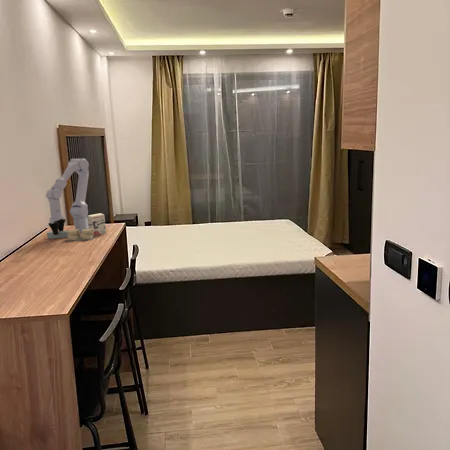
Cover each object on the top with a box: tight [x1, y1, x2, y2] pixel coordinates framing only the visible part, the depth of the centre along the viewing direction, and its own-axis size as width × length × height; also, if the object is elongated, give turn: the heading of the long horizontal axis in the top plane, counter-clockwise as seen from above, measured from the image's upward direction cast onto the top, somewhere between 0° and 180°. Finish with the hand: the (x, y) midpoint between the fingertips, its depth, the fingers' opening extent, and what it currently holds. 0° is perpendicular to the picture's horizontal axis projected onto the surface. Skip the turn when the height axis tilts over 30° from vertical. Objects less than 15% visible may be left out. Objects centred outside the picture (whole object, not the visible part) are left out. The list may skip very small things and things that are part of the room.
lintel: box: [46, 230, 68, 240], centre depth 249 cm, size 12×4×4 cm, turn 88°
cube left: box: [66, 228, 81, 240], centre depth 243 cm, size 5×5×5 cm
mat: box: [65, 235, 98, 242], centre depth 244 cm, size 11×15×1 cm
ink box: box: [87, 212, 107, 236], centre depth 253 cm, size 8×5×12 cm, turn 134°
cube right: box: [81, 228, 95, 240], centre depth 242 cm, size 5×5×5 cm
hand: (58, 233), depth 249 cm, fingers open, 7 cm apart
